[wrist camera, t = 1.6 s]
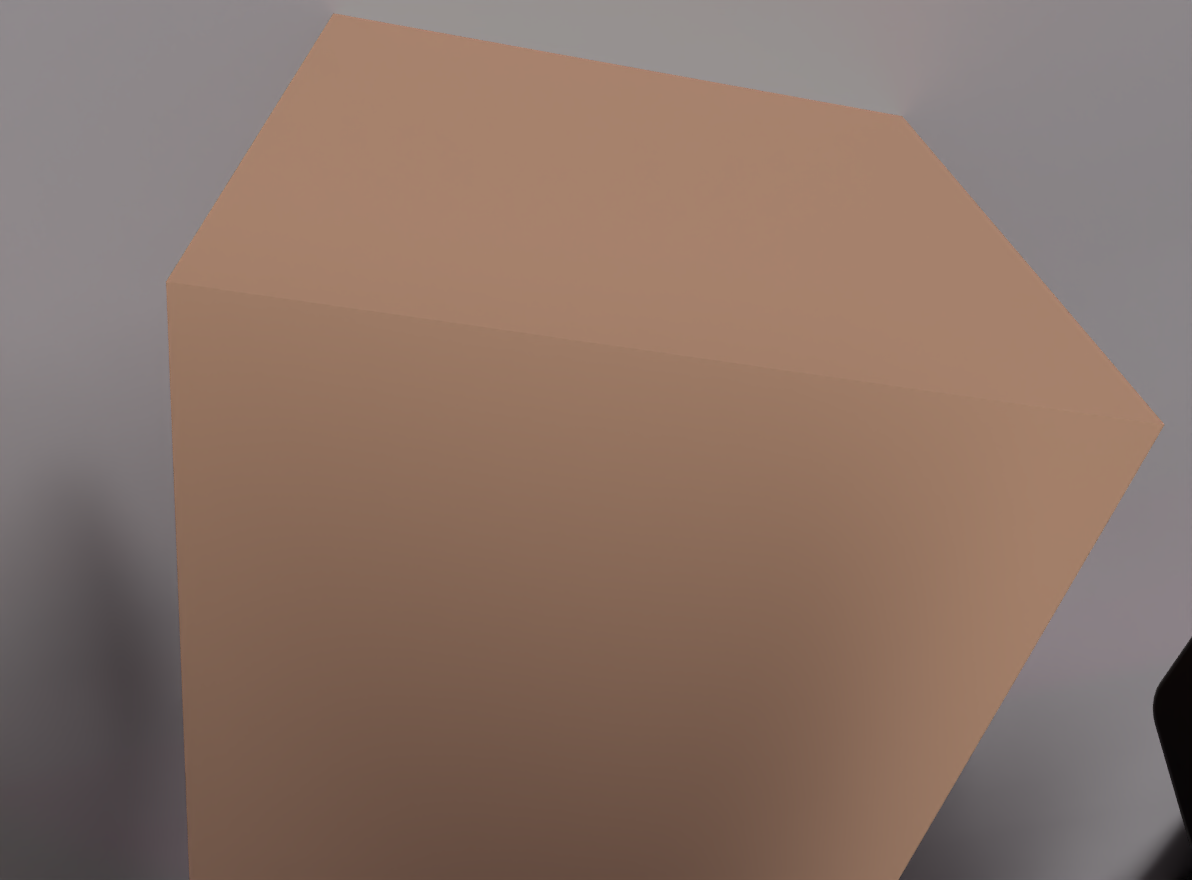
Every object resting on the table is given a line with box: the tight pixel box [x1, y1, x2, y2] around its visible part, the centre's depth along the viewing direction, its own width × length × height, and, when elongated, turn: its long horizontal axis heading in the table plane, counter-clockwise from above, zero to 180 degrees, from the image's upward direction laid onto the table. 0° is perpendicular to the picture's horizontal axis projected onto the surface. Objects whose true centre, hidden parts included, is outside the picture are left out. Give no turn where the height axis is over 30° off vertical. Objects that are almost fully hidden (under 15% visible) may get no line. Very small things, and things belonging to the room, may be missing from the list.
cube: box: [166, 14, 1164, 880], centre depth 9 cm, size 5×5×5 cm
